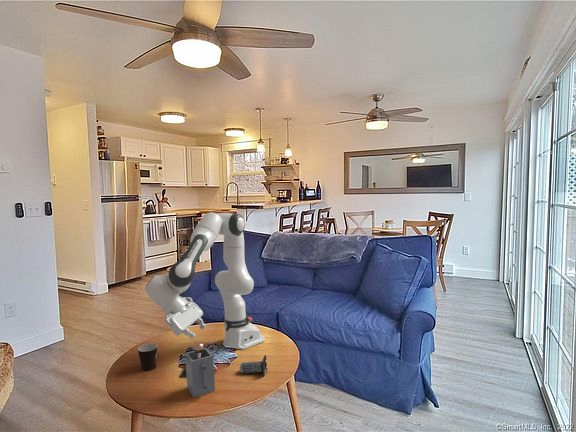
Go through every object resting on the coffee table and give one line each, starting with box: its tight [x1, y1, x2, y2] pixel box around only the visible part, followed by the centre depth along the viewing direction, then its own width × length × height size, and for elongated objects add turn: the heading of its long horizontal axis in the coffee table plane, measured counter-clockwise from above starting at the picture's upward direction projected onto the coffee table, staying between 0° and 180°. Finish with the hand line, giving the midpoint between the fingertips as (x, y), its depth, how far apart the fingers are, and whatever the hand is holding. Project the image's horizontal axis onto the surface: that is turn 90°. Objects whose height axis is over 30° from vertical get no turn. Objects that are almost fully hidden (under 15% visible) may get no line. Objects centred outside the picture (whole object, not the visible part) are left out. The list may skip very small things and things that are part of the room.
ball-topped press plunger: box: [193, 341, 204, 359], centre depth 148 cm, size 6×6×14 cm
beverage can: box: [239, 355, 268, 377], centre depth 161 cm, size 9×8×12 cm
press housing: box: [184, 347, 216, 398], centre depth 148 cm, size 9×12×15 cm
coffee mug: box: [137, 342, 158, 372], centre depth 170 cm, size 12×9×10 cm
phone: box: [180, 364, 187, 379], centre depth 166 cm, size 8×1×15 cm
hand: (199, 332), depth 147 cm, fingers open, 8 cm apart
